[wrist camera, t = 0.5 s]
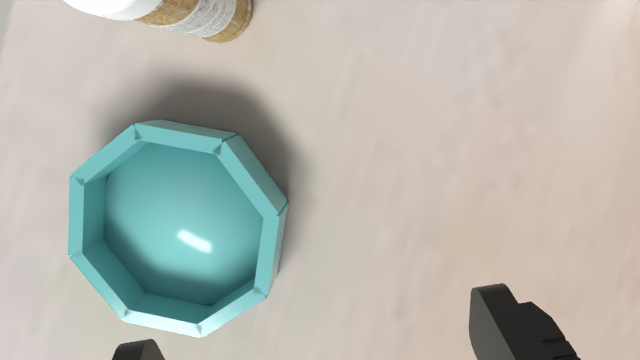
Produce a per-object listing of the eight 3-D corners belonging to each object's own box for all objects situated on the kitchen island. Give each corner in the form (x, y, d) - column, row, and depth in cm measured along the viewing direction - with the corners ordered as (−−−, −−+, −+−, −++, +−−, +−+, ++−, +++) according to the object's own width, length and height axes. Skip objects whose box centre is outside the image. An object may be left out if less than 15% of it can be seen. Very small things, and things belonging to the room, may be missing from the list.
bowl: (202, 83, 29) (182, 83, 26) (322, 247, 30) (317, 265, 27) (61, 195, 32) (28, 208, 29) (178, 338, 34) (158, 365, 30)
